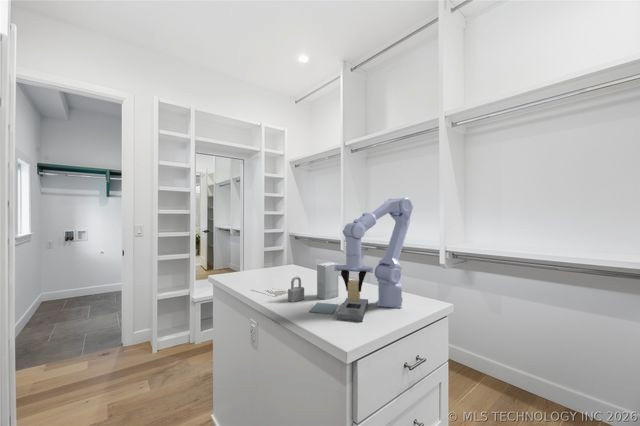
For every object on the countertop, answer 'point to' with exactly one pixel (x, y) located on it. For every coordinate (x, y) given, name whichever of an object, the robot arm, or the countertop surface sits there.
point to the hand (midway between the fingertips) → (353, 290)
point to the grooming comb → (277, 292)
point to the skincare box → (327, 280)
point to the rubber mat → (324, 308)
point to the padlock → (295, 291)
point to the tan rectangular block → (353, 290)
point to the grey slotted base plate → (353, 310)
